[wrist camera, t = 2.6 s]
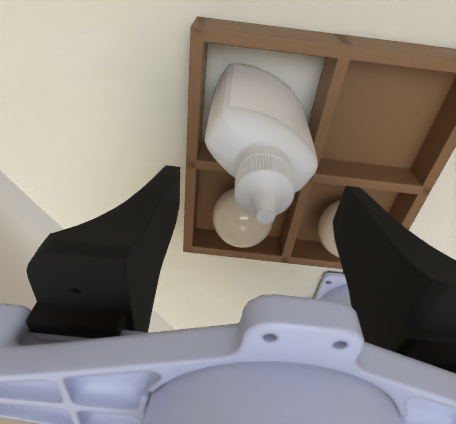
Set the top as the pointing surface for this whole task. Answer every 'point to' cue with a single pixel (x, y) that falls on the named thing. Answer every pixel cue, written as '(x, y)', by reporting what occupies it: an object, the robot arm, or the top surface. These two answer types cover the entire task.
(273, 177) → the eye dropper bottle
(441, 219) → the top surface
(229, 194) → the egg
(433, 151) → the wooden compartment tray
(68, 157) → the top surface
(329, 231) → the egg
